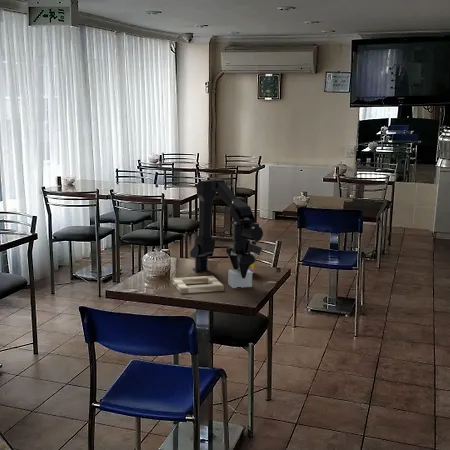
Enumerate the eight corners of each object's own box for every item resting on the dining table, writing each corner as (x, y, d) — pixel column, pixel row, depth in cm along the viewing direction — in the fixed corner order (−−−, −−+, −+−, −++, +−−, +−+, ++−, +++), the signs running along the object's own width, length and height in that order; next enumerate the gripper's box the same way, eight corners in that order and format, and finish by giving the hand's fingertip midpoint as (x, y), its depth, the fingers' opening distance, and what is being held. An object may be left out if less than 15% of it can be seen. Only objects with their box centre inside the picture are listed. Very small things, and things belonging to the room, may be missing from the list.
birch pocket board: (172, 283, 244) (172, 278, 244) (212, 280, 249) (213, 275, 249) (180, 293, 230) (180, 288, 230) (223, 290, 235) (223, 285, 234)
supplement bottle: (237, 274, 260) (237, 244, 257) (240, 270, 266) (241, 241, 264) (252, 275, 258) (253, 245, 256) (255, 271, 264) (256, 242, 262)
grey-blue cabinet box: (228, 284, 244) (228, 268, 243) (246, 283, 246) (247, 267, 245) (232, 288, 238) (233, 272, 237) (251, 287, 241) (252, 271, 240)
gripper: (268, 240, 233) (267, 280, 235) (252, 231, 250) (251, 268, 253) (240, 242, 229) (240, 282, 232) (226, 232, 247) (225, 270, 250)
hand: (239, 275), depth 242 cm, fingers open, 9 cm apart
